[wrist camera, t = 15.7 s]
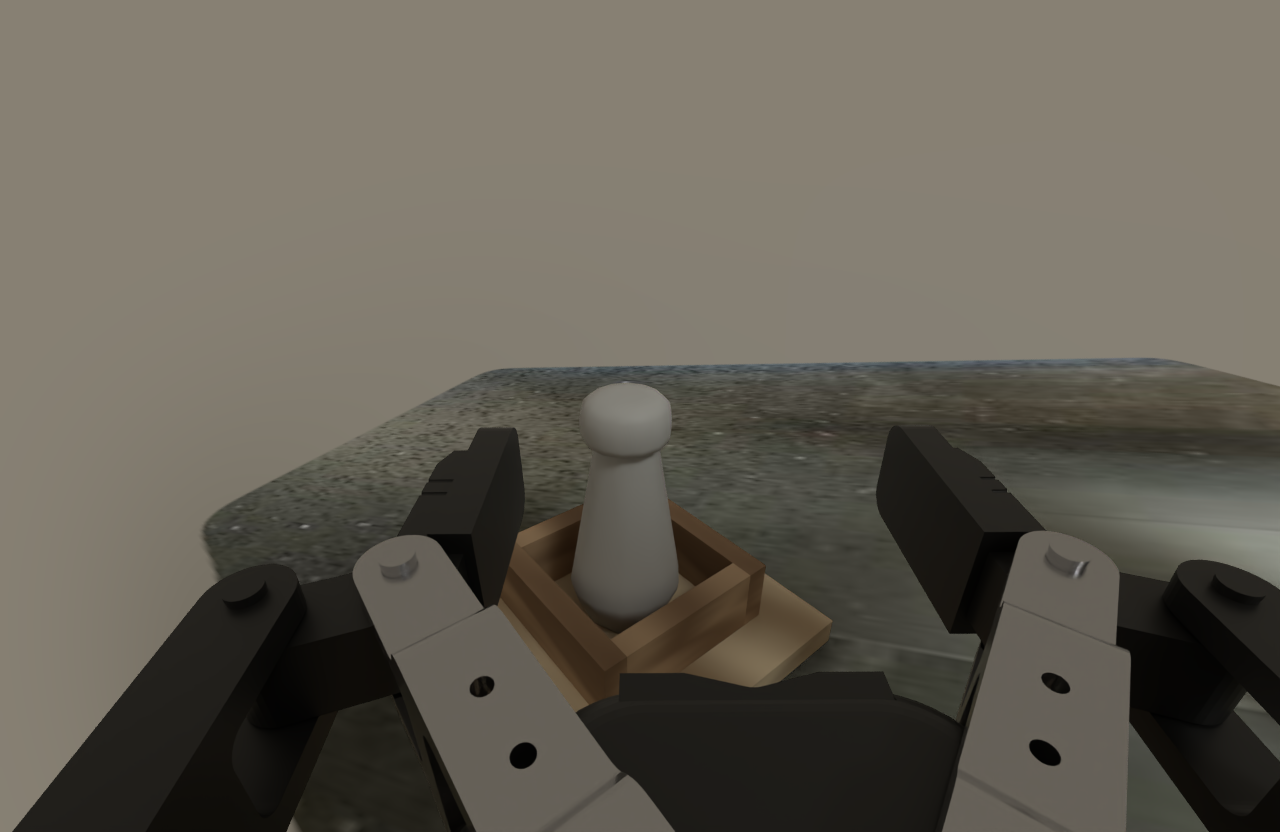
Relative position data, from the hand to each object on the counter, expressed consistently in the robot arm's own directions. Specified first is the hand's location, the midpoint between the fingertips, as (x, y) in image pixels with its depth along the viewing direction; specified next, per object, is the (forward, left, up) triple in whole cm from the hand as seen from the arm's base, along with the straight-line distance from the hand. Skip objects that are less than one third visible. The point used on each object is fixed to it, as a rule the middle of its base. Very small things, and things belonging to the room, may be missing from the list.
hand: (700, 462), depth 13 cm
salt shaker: (-7, -12, -18) cm, 22 cm away
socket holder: (-7, -12, -19) cm, 23 cm away
